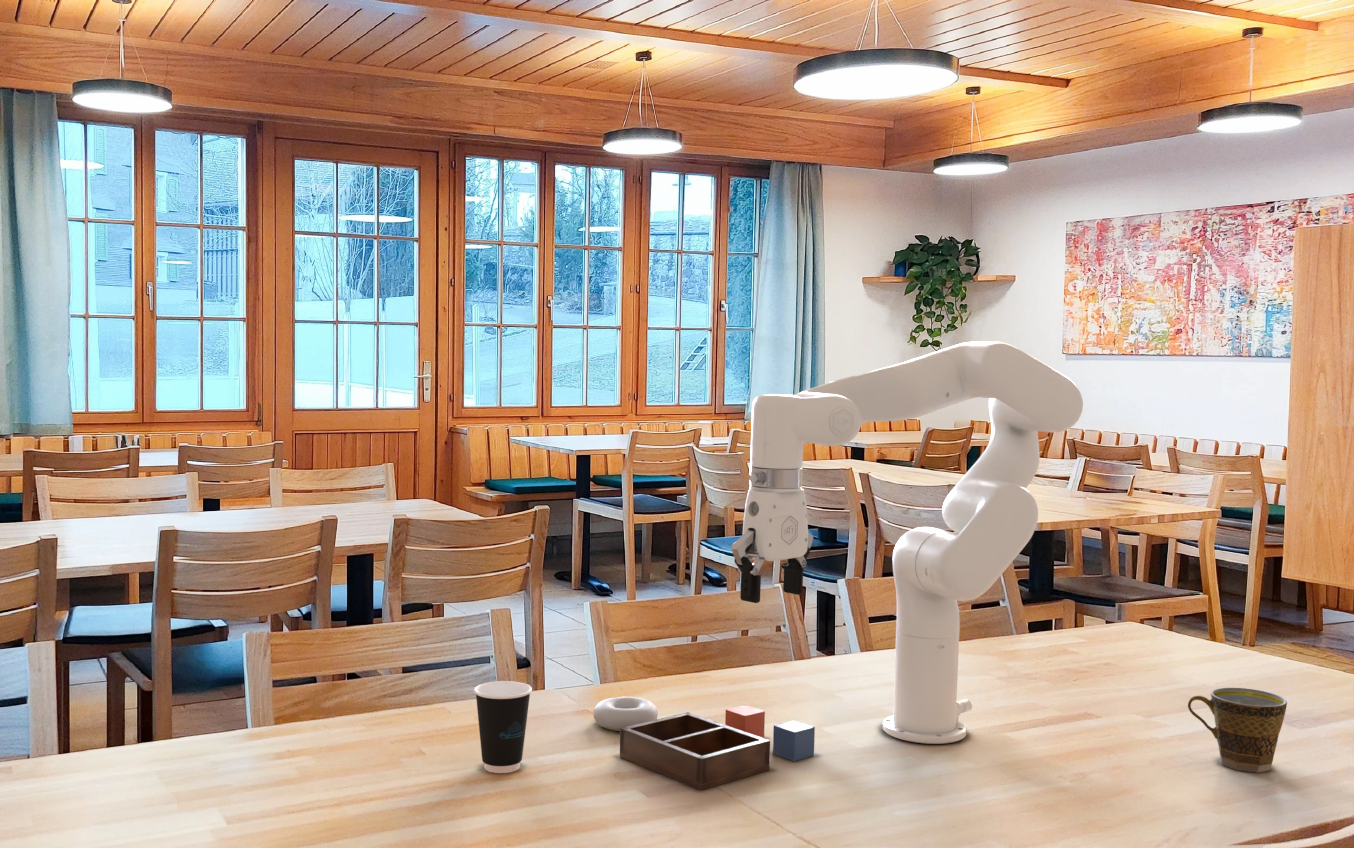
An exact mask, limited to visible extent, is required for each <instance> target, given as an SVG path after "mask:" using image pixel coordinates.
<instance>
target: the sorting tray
mask: <svg viewBox="0 0 1354 848" xmlns="http://www.w3.org/2000/svg"><path fill="white" fill-rule="evenodd" d="M619 758H621V759H623V760H626V761H629V762H631V763H633V764H635V765H638V766H641V767H643V768H646V769H648V770H650V771H652V772H655V773H658V774H660V775H662V776H664V777H666V778H667V777H668V778H670V779H673V780H675V781H677V782H680V783H682V784H685V785H687V786H689V787H691V788H695V789H696V790H700V791H703V790H705V789H706V790H707V789H710V788H712V787H716V786H719V785H723V784H726V783H727V784H728V783H730V782H733V781H737V780H741V779H744V778H747V777H750V776H753V775H754V776H755V775H757V774H760V773H763V772H767V771H770V760H771V740H770V739H767V738H765V737H764V738H762V737H759V736H756V735H753V734H750V733H747V732H744V731H741V730H738V729H735V728H732V727H730V726H727V725H725V723H721V722H718V721H715V720H712V719H709V718H706V717H704V716H700V715H697V714H695V713H692V712H689V711H687V712H682V713H679V714H674V715H671V716H666V717H661V718H657V720H653V721H648V722H644V723H640V724H636V725H631V726H627V727H623V728H620V731H619Z"/></svg>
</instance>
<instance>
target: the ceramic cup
mask: <svg viewBox="0 0 1354 848" xmlns="http://www.w3.org/2000/svg"><path fill="white" fill-rule="evenodd" d="M1210 696H1211V697H1210V699H1209V698H1207V697H1206V696H1203V695H1194V696H1192V697H1191V698H1189V700H1188V702H1187V708H1188V711H1189V712H1190V713H1191V715H1193V717H1195V718H1196V719H1198V720H1199V722H1201V723H1202V724H1203V725H1204V727H1206V729H1208V730H1209V731H1210V732H1211V733H1212V735H1213V737H1214V738H1215V740H1216V742H1217V745H1218V751H1219V752H1218V753H1219V759H1220V762H1221V765H1222V766H1225V767H1227V768H1230V769H1233V770H1235V771H1238V772H1239V771H1241V772H1248V773H1263V772H1268V771H1271V769H1272V765H1273V761H1274V756H1275V752H1276V748H1277V744H1278V740H1279V735H1280V733H1281V730H1282V728H1283V727H1282V726H1283V724H1284V719H1285V715H1286V711H1287V705H1288V701H1287V699H1286V698H1284V697H1282V696H1280V695H1278V694H1275V693H1272V692H1268V691H1264V690H1260V689H1253V688H1245V687H1219V688H1215V689H1212V690H1211V691H1210ZM1194 701H1201V702H1203V703H1204V704H1205V705H1207V706H1208V709H1209V710H1210V712H1211V713H1212V715H1213V718H1214V724H1215V726H1214V727H1212V726H1210V725H1209V724H1208V723H1207V722H1206V721H1205V720H1204V719H1203V718H1202V717H1201V716H1200V715H1199V714H1198V713H1196V712H1195V711H1194V710H1193V709H1192V703H1193V702H1194Z"/></svg>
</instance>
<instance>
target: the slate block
mask: <svg viewBox="0 0 1354 848" xmlns="http://www.w3.org/2000/svg"><path fill="white" fill-rule="evenodd" d="M815 731H816V727H815V726H813V725H810V724H807V723H803V722H800V721H797V720H793V719H792V720H790V721H785V722H781V723H778V724H777V723H776V724H774V725H773V732H772V733H773V734H772V735H773V736H772V737H773V739H772V754H773V755H775V756H777V757H780V758H783V759H786V760H789V761H792V762H797V761H800V760H804V759H807V758H810V757H814V756H815V734H816V733H815Z"/></svg>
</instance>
